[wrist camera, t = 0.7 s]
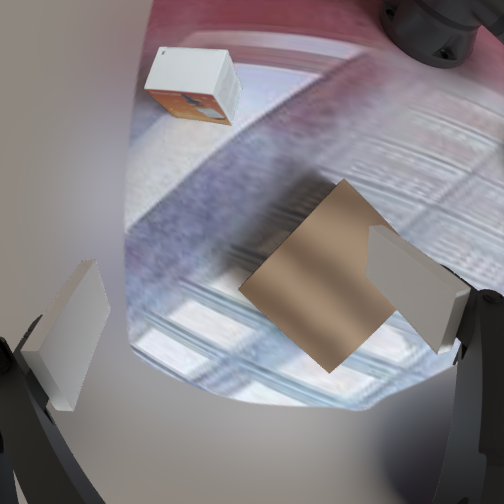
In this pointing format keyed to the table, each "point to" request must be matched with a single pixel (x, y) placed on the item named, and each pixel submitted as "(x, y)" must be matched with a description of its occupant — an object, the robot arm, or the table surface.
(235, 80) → the small box
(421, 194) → the table surface
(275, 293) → the walnut block
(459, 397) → the robot arm
